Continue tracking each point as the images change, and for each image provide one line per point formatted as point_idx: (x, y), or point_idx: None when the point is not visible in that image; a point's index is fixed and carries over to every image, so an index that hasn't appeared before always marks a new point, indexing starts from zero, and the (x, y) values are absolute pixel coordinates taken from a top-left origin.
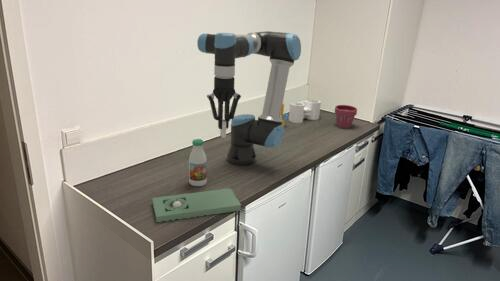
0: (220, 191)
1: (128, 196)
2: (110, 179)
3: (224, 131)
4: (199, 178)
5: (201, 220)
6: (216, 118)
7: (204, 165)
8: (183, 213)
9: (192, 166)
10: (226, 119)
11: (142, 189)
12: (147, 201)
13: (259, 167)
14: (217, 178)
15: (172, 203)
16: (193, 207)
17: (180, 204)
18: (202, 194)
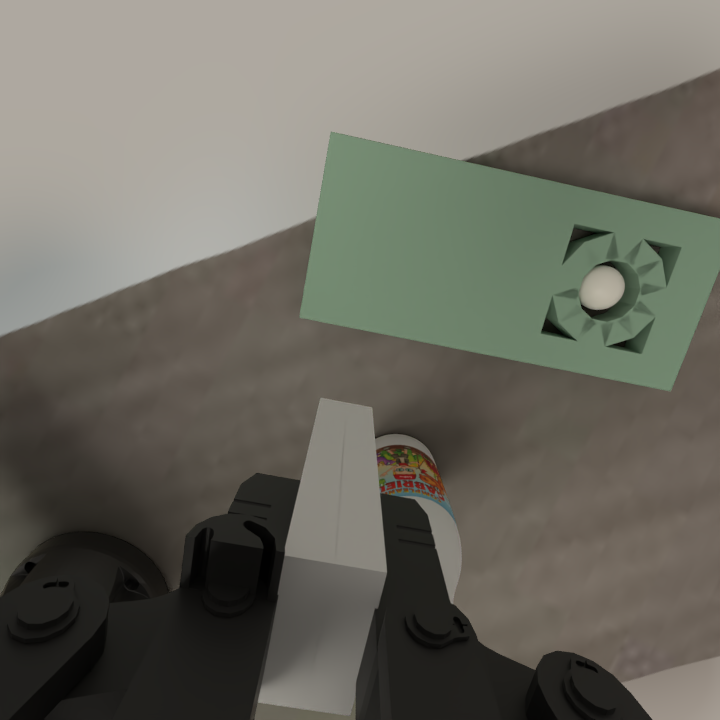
0: (361, 309)
1: (704, 479)
2: (698, 634)
3: (339, 438)
4: (410, 451)
5: (540, 146)
6: (607, 701)
7: (385, 489)
8: (618, 196)
9: (450, 508)
10: (263, 605)
11: (630, 510)
12: (660, 409)
13: (44, 486)
14: (292, 469)
15: (605, 318)
16: (554, 222)
17: (597, 273)
18: (455, 320)
